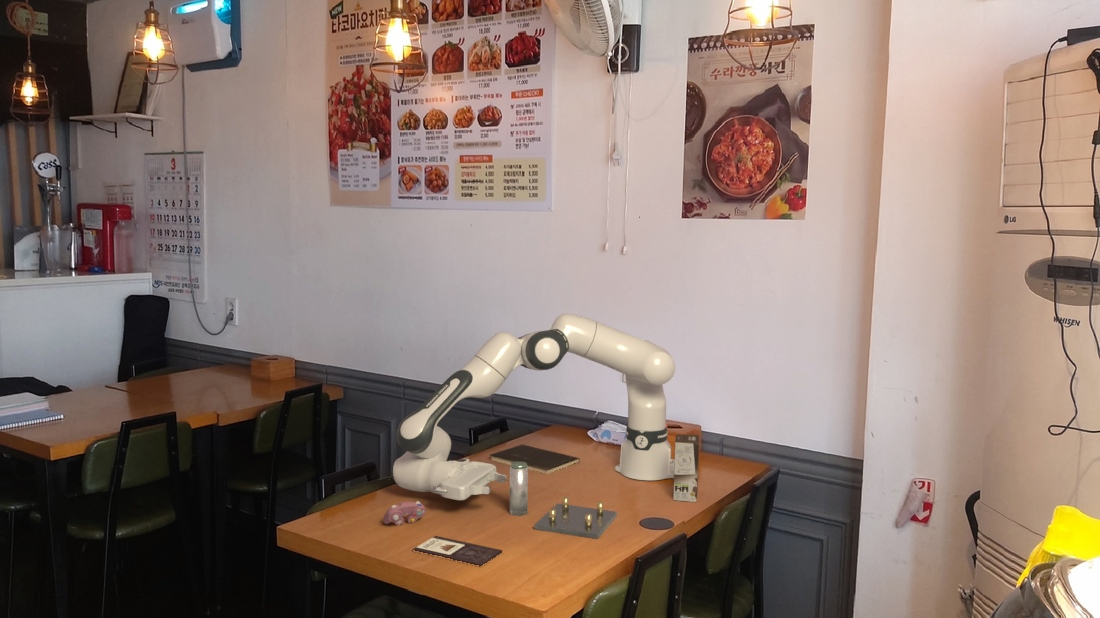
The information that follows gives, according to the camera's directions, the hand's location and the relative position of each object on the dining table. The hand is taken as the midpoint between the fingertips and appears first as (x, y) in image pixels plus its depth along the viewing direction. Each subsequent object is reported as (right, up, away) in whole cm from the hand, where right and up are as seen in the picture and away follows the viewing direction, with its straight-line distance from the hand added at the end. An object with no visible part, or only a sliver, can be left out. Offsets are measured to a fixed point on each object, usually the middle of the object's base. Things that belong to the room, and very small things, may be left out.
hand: (497, 484), depth 209 cm
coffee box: (+50, -6, +12) cm, 52 cm away
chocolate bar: (-7, -10, -27) cm, 29 cm away
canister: (+5, -7, -2) cm, 9 cm away
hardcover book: (+9, -3, +43) cm, 44 cm away
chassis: (+20, -8, -8) cm, 23 cm away
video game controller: (-22, -8, -10) cm, 25 cm away
